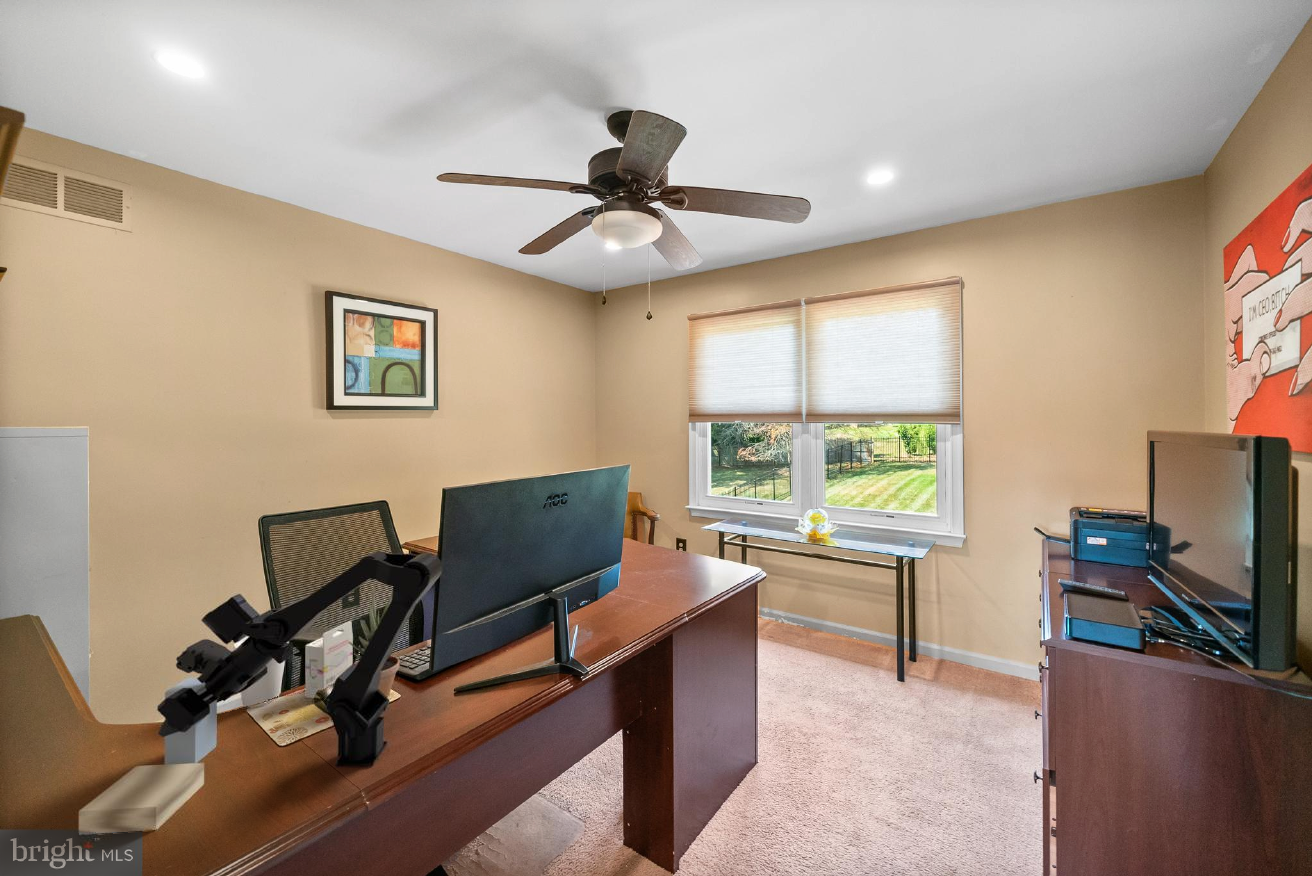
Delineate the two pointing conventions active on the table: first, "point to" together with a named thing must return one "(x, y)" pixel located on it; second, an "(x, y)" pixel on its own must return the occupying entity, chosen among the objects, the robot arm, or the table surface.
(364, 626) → the potted plant
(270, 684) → the foam cup
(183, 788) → the maple block
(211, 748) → the slate blue pillar
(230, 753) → the table surface
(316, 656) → the ink cartridge box
